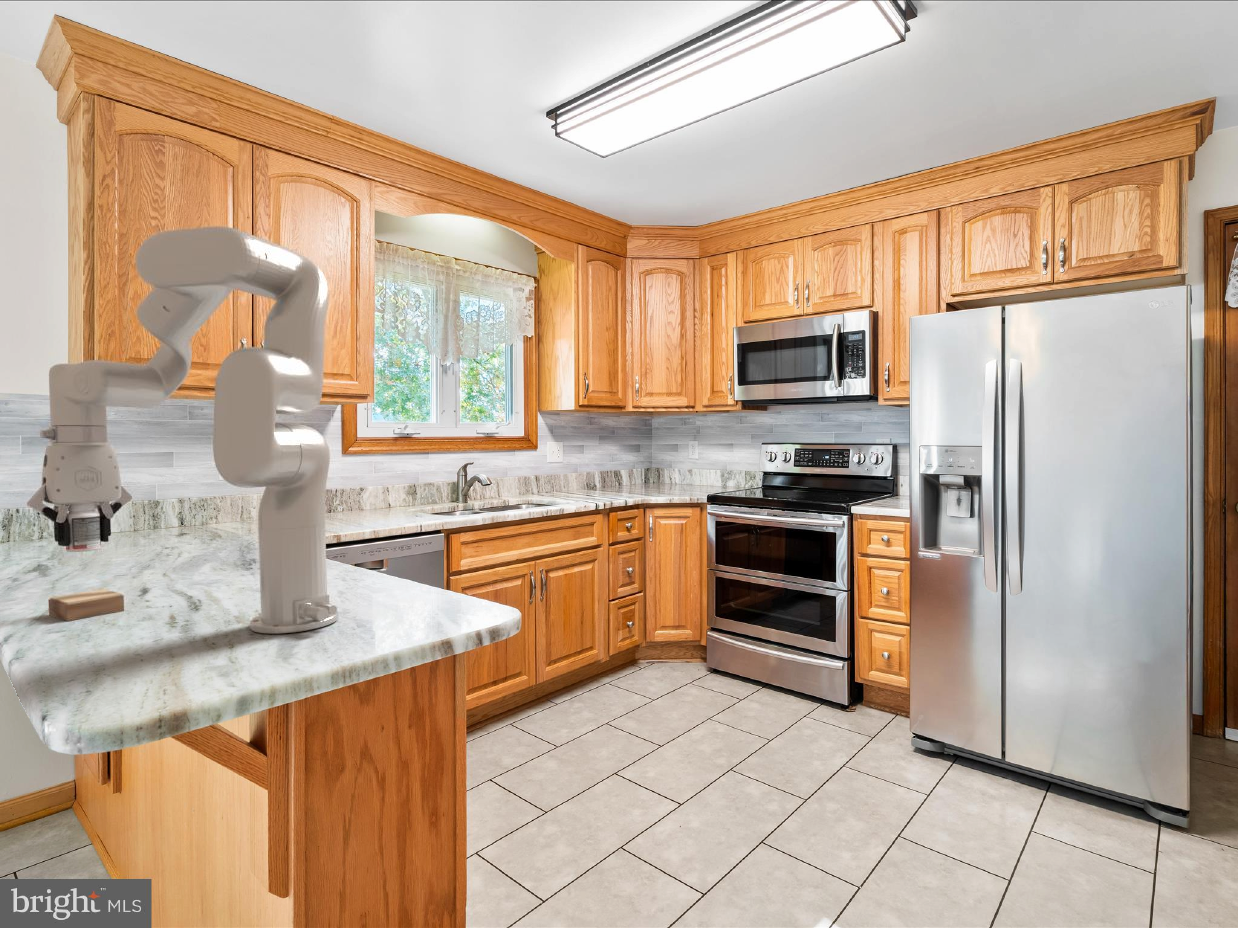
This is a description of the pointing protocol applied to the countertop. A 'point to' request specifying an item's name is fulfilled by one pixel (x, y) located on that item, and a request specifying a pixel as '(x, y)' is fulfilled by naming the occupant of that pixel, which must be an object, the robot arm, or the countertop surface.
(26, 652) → the countertop surface
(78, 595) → the walnut stand
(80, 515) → the pill bottle
